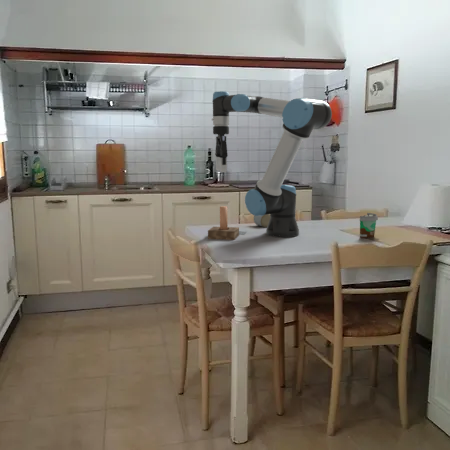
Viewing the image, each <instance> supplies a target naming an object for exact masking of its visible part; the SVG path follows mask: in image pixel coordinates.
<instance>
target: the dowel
mask: <svg viewBox="0 0 450 450" xmlns="http://www.w3.org/2000/svg"><path fill="white" fill-rule="evenodd" d="M219 227H220V230H228V227H229V226H228V206H224V205H221V206H219Z"/></svg>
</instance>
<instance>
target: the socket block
mask: <svg viewBox="0 0 450 450" xmlns="http://www.w3.org/2000/svg"><path fill="white" fill-rule="evenodd" d="M239 231H240V227H236V226H234V227H232V226H228V230H220V226H212V227H211V228H209V229H207V239H209V240H228V241H229V240H230V241H235V240H236V239H237V238H238V237H239V236H240V235H239Z"/></svg>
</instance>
